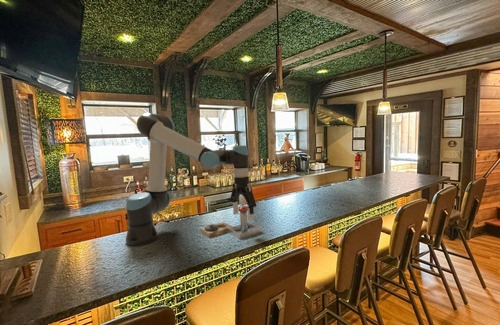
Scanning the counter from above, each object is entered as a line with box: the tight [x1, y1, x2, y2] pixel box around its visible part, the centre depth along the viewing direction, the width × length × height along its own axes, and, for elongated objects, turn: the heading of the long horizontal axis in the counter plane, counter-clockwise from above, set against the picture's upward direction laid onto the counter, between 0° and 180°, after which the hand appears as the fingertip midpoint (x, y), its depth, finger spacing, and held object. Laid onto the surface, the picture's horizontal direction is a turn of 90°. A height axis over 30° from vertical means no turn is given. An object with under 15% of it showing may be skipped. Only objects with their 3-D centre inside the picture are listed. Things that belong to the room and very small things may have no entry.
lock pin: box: [238, 205, 249, 233], centre depth 128 cm, size 5×5×14 cm
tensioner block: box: [199, 222, 233, 238], centre depth 132 cm, size 14×10×5 cm
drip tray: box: [227, 221, 262, 240], centre depth 129 cm, size 13×11×3 cm
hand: (243, 217), depth 128 cm, fingers open, 13 cm apart
